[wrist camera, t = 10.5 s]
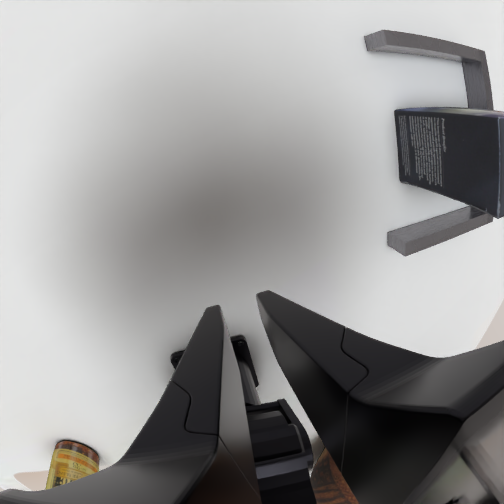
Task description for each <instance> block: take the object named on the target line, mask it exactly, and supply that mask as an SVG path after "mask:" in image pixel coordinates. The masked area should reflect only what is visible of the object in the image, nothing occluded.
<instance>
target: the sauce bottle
mask: <svg viewBox="0 0 504 504" xmlns="http://www.w3.org/2000/svg"><path fill="white" fill-rule="evenodd" d="M98 471H99V457H98V455H97V454H96V453H95V452H94V451H93V450H91V449H90V448H88V447H86V446H84V445H82V444H79V443H75V442H71V441H62V442H59V443H58V444H56V447H55V450H54V452H53V456H52V460H51V465H50V469H49V474H48V479H47V484H46V490H47V489H50V488H54V487H57V486H60V485H63V484H66V483H69V482H72V481H75V480H77V479H80V478H83V477H86V476H88V475H91V474H93V473H96V472H98Z"/></svg>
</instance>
